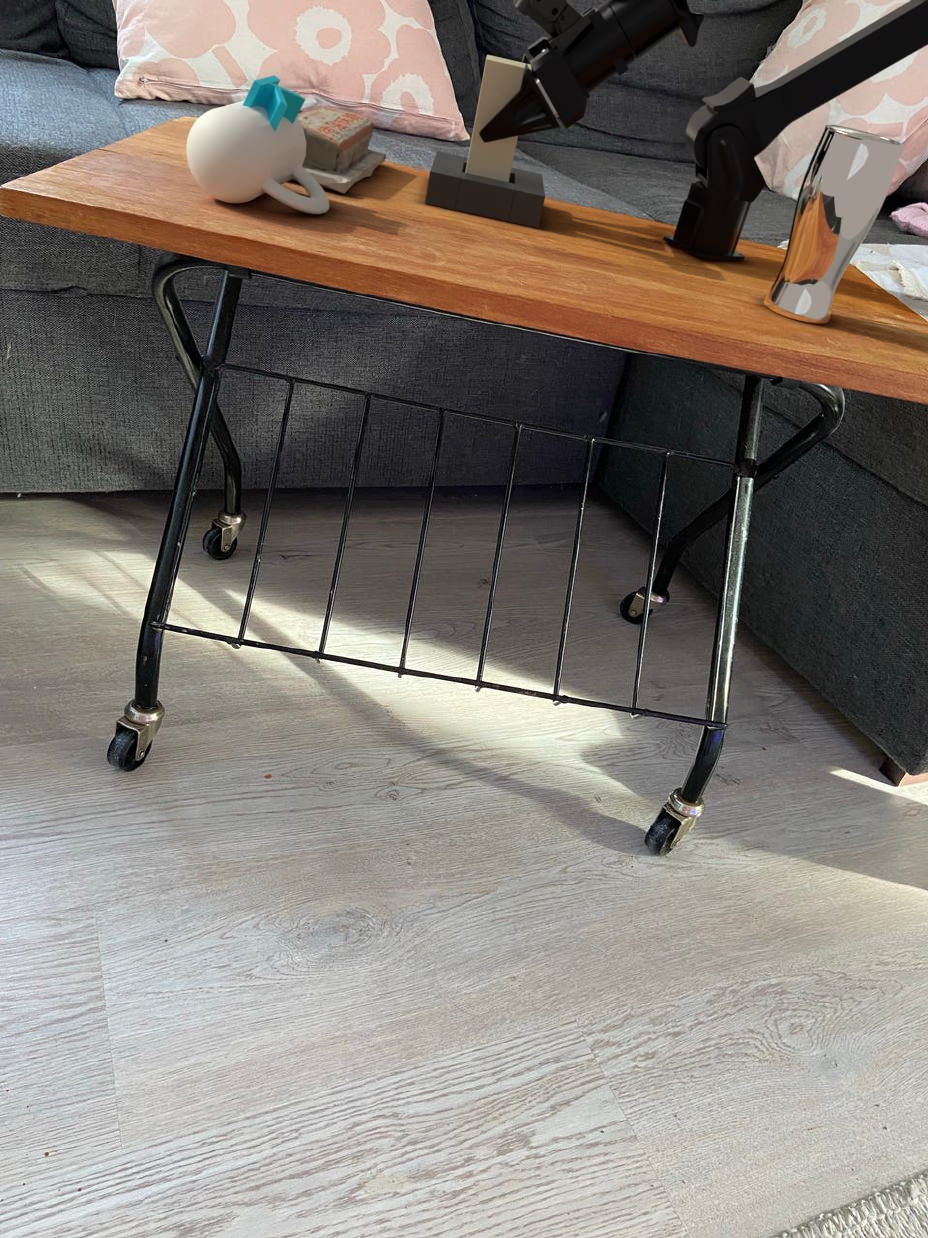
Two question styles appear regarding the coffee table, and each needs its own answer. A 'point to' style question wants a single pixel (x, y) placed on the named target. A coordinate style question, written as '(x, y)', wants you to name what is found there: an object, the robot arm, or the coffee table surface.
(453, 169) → the pad base
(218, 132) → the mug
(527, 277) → the coffee table surface
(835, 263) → the beer glass
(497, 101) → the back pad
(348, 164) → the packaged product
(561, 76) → the robot arm
